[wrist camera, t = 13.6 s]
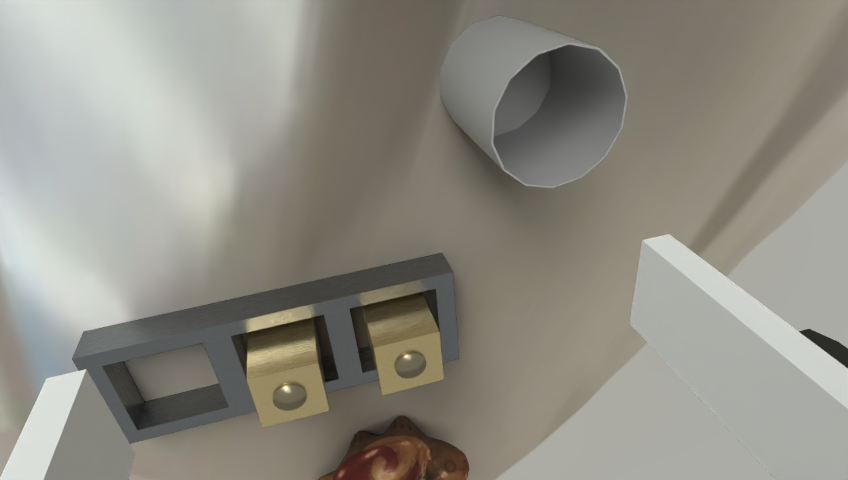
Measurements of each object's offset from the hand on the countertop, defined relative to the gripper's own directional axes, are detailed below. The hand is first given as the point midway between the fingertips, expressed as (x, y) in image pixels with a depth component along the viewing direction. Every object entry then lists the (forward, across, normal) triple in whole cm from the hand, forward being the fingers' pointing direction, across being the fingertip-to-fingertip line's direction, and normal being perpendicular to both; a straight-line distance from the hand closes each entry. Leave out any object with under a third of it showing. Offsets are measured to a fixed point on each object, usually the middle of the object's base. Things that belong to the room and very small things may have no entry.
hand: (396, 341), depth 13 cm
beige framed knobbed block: (+27, +3, -20) cm, 34 cm away
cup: (+27, +13, -2) cm, 30 cm away
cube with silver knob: (+27, -6, -21) cm, 34 cm away
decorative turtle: (+27, 0, -37) cm, 46 cm away
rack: (+27, -6, -20) cm, 34 cm away
